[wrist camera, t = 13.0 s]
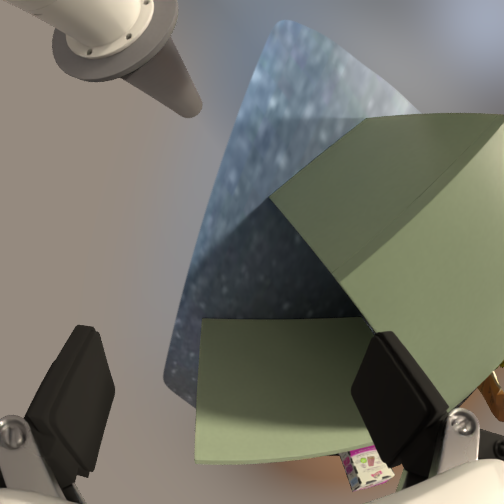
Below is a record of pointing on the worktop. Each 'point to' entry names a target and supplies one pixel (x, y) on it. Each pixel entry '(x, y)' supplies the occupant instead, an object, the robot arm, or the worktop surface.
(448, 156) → the cabinet
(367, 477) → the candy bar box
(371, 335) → the door
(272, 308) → the worktop surface
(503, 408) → the pancake mix bag
